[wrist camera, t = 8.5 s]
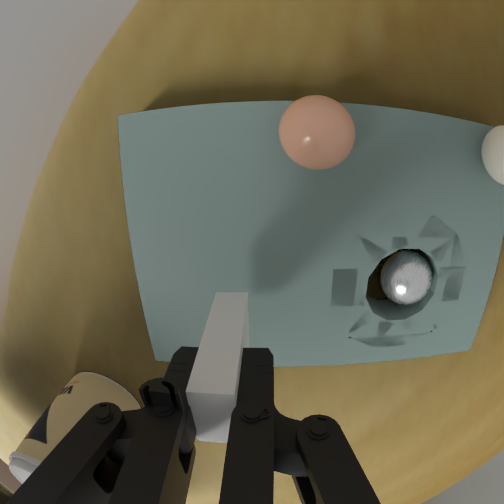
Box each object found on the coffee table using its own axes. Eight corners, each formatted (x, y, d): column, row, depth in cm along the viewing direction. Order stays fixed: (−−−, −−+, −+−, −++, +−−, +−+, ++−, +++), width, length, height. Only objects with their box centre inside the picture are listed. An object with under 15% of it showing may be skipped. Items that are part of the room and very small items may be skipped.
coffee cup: (70, 346, 23) (-2, 446, 12) (164, 400, 24) (123, 519, 13) (60, 398, 26) (11, 479, 15) (136, 441, 27) (103, 532, 16)
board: (165, 338, 22) (155, 360, 19) (137, 116, 16) (117, 115, 14) (456, 331, 20) (469, 350, 18) (490, 129, 15) (513, 132, 12)
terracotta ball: (278, 165, 14) (279, 174, 11) (276, 98, 13) (278, 89, 10) (345, 166, 14) (364, 176, 11) (345, 100, 13) (364, 93, 10)
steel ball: (367, 301, 18) (413, 321, 15) (374, 250, 17) (424, 267, 14) (392, 285, 20) (433, 300, 17) (398, 239, 19) (443, 252, 16)
